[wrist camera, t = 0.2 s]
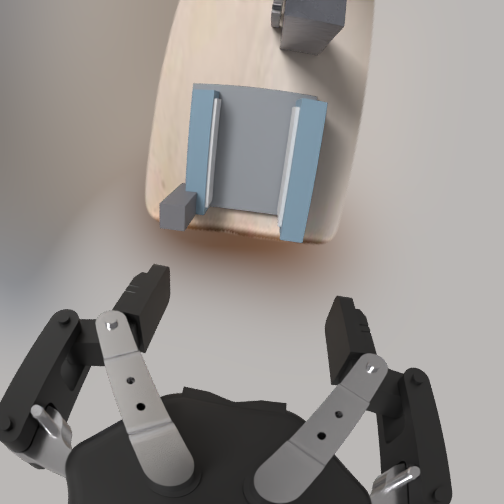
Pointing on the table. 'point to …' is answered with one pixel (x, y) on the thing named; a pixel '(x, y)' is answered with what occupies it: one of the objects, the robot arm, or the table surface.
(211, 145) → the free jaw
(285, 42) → the steel block
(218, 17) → the table surface
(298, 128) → the vise base
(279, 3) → the caliper
